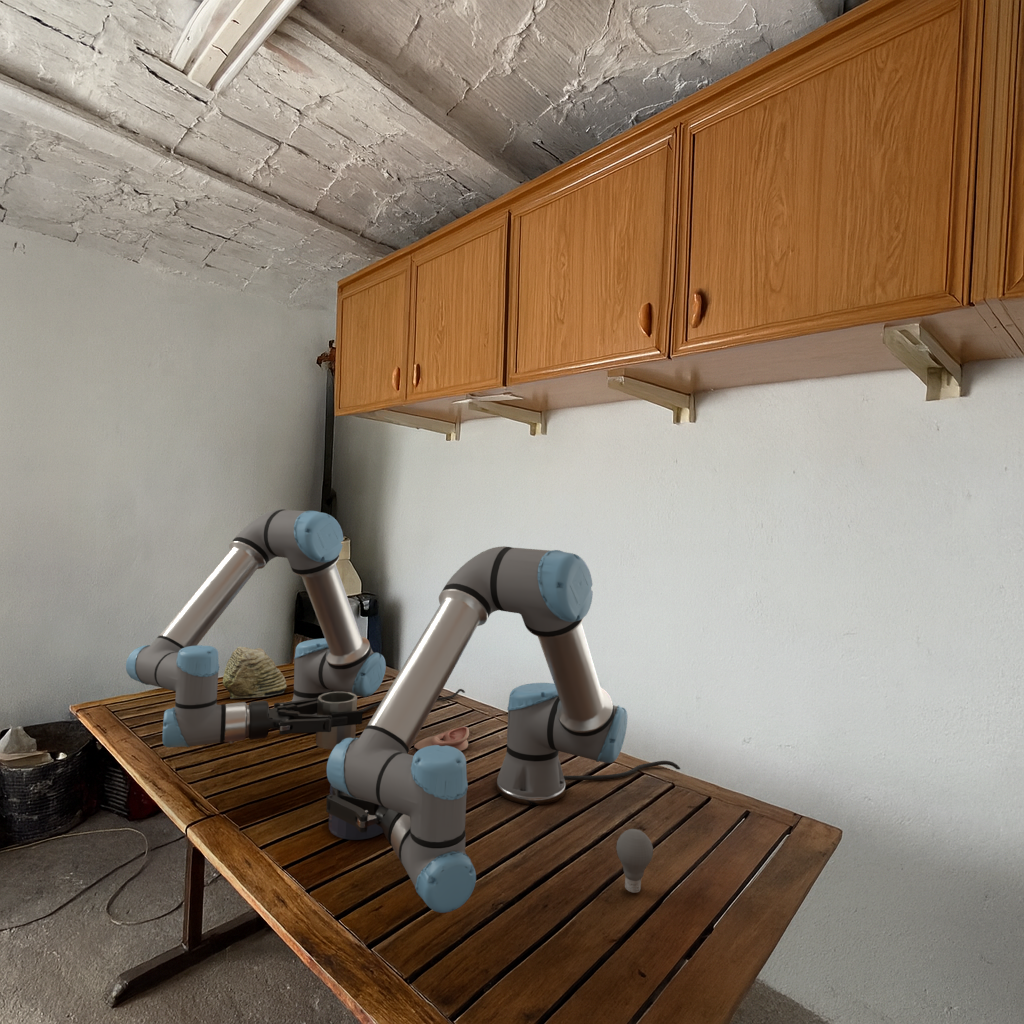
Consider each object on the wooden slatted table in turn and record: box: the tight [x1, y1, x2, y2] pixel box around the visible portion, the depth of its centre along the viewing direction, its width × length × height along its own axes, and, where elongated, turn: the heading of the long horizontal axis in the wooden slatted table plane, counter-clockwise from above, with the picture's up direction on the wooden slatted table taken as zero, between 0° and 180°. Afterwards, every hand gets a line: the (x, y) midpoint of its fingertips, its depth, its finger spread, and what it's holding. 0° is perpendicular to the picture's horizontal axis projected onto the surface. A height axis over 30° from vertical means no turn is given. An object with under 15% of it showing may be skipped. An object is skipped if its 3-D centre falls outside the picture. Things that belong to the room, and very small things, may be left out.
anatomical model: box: [414, 726, 470, 752], centre depth 164 cm, size 13×4×12 cm
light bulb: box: [615, 828, 654, 894], centre depth 106 cm, size 6×6×10 cm
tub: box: [328, 782, 384, 841], centre depth 123 cm, size 12×12×11 cm
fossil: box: [222, 646, 288, 699], centre depth 198 cm, size 9×18×15 cm, turn 132°
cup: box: [315, 691, 358, 751], centre depth 139 cm, size 8×8×10 cm
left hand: (357, 710), depth 141 cm, fingers closed on cup, 8 cm apart
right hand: (374, 773), depth 114 cm, fingers open, 13 cm apart
